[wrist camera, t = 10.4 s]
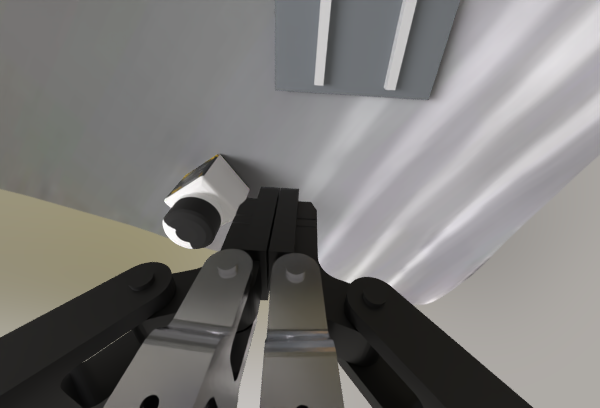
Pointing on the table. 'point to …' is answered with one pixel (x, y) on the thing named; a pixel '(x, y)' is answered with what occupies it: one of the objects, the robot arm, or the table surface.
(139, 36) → the table surface
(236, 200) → the medicine bottle
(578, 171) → the table surface
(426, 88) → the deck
